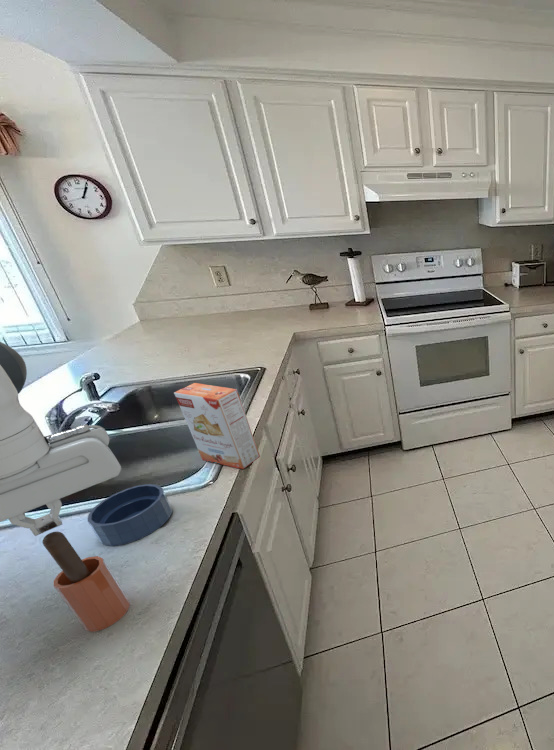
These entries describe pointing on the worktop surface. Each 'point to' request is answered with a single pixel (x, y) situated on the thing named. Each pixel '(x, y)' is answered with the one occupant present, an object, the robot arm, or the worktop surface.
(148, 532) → the bowl
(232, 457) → the cracker box
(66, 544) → the stick
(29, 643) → the worktop surface
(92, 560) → the crock
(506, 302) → the worktop surface
